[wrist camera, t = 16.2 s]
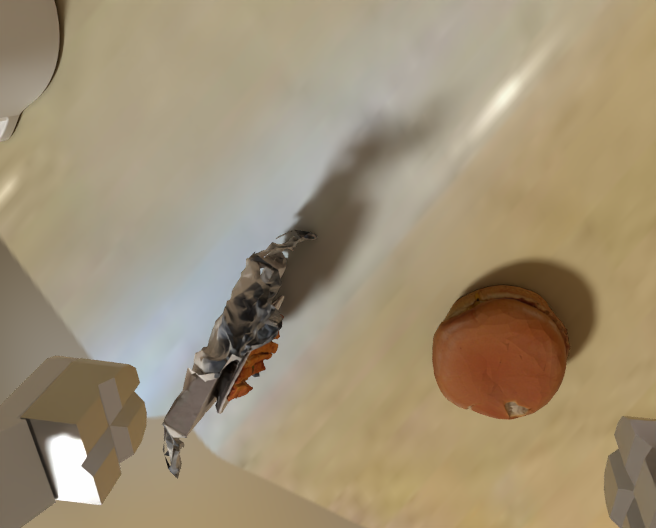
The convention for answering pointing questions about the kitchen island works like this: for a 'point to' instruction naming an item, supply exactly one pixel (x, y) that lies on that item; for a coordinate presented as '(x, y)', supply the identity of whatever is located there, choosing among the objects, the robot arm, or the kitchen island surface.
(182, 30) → the kitchen island surface
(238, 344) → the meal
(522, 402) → the burger
